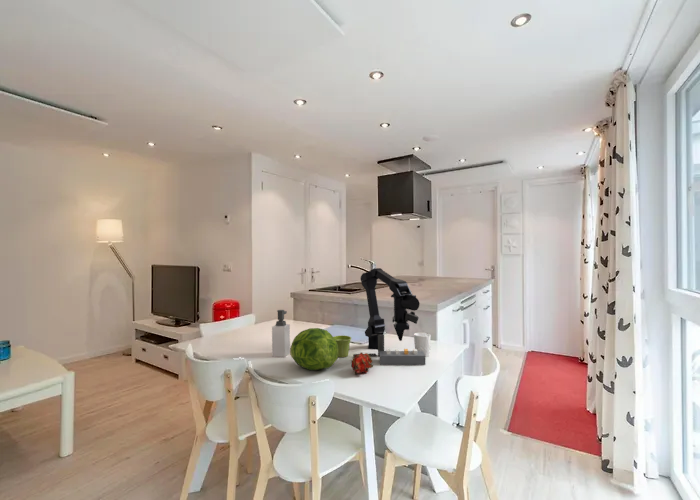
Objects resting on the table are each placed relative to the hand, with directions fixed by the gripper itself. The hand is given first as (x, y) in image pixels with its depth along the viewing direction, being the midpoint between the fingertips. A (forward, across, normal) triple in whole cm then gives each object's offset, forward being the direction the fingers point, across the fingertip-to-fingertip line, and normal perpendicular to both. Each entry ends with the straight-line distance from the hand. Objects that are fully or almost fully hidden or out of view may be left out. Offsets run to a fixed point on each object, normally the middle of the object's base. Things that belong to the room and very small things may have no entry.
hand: (400, 340), depth 157 cm
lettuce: (+8, -14, +40) cm, 43 cm away
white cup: (+8, +4, -11) cm, 14 cm away
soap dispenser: (+8, +5, +58) cm, 59 cm away
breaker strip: (+8, -6, 0) cm, 10 cm away
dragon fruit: (+8, -19, +18) cm, 28 cm away
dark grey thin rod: (+8, +2, +17) cm, 19 cm away
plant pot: (+8, +3, +28) cm, 29 cm away
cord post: (+8, +3, +9) cm, 13 cm away
